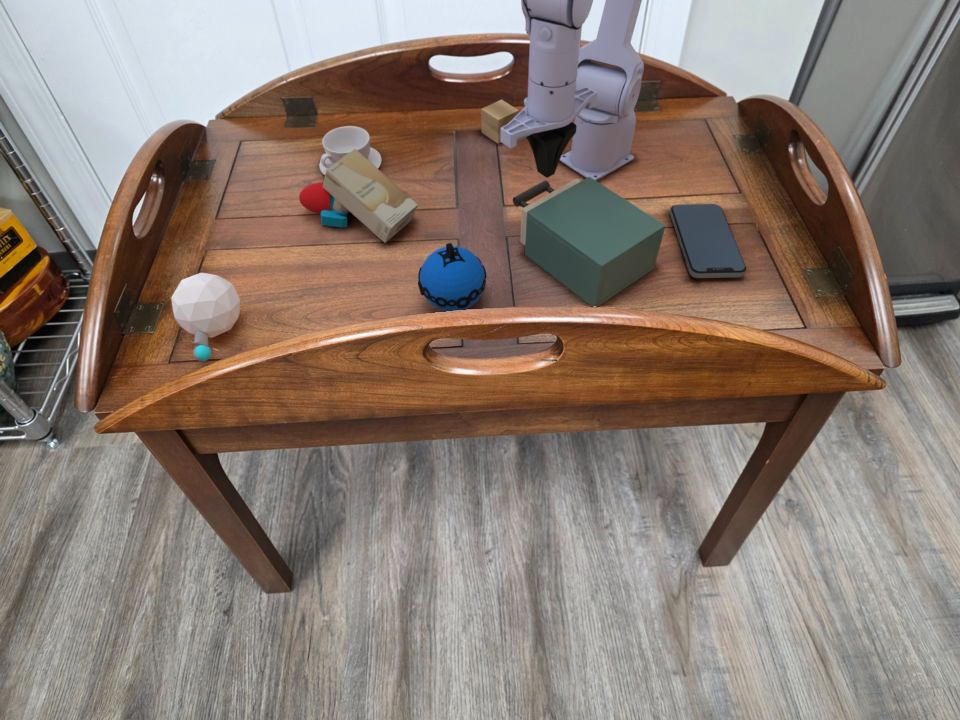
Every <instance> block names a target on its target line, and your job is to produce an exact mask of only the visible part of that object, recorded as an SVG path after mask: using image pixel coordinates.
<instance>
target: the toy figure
mask: <svg viewBox="0 0 960 720" xmlns="http://www.w3.org/2000/svg"><path fill="white" fill-rule="evenodd" d="M323 184H324V181H319V182H315V183H311V184H309V185H307V186H305V187H304V188H302V190H301V191H300V192H299V195H298V199H299V202H300V204H301V205H302V206H303V208H305V209H306V210H307V211H309V212H311V213H314V214H317V215H320V223H321V225H322V226H327V227H328V226H329V227H334V228H335V227H336V228H347V227H348V214H349V213H351V212H350V211H349V210H348V209H347V208H345V207H344V206H343V205H342V204H341V203H340V202H339V201H338V200H337V199H335V198H334V197H333V196H332V195H331V194H330V193H329V192H328V191H327V190H325V189H324V188H323Z"/></svg>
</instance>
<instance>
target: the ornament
mask: <svg viewBox="0 0 960 720" xmlns="http://www.w3.org/2000/svg"><path fill="white" fill-rule="evenodd" d="M417 274H418V276H417V277H418V278H417V279H418V281H417V286H418V290H419V293H420V295H421V296H424V298H425V299H426V301H427V302H428V303H429V304H430V305H431V306H433V307H434V308H436V309H437V310H439V311H443V312H446V311H453V310H463V309H465V310H467V309H470V308H471V307H472V306H475V304H476V303H477V302H478V300H479V299H481V297H482V294H483V293H484V291H485V289H486V284H487V280H486V279H487V271H486V268H485V266H484V264H482V261H481V259H480V257H479V256H477V255H476V254H474V252H472V251H470V250H468V249H467V248H464V247H462V246H457V245H453V243H452V242H449V243H448V242H447V243H445V246H443V247H440V248H438V249H436V250H434V251H433V252H432V253H430V254H428V256H427V257H426V258H425V260H424V262H423V264H422V265H421V266H420V267H419V269H418V273H417ZM463 311H464V310H463Z"/></svg>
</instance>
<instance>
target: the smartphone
mask: <svg viewBox="0 0 960 720" xmlns="http://www.w3.org/2000/svg"><path fill="white" fill-rule="evenodd" d="M669 216H670V218H671V221H672V225H673V228H674V231H675V234H676V236H677V240H678V243H679V246H680V249H681V252H682V255H683V259H684V261H685V264H686V267H687V270H688V273H689V275H690V276H691V277H692V278H695V279H716V278H719V279H721V278H722V279H723V278H725V279H726V278H741V277H744V276H745V274H746V271H747V266H746V264H745V261H744V259H743V256H742V254H741V252H740V249H739V246H738V245H737V242H736V240H735V237H734V235H733V233H732V230H731V228H730V225H729V222H728V220H727V217H726V216H725V213H724V210H723V209H722V207H721V206H720V205H719V204H716V203H695V204H693V203H692V204H689V203H688V204H674V205H671V207H670V210H669Z"/></svg>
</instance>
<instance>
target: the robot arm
mask: <svg viewBox="0 0 960 720" xmlns="http://www.w3.org/2000/svg"><path fill="white" fill-rule="evenodd" d="M642 1H643V0H605V2H604V5H603V10H602V14H601V18H600V22H599V26H598V30H597V35H596V38H595V39H593V40H591V41H589V42H588V43H585V44H584V45H582V46H581V39H582V31H583V25H584V24H585V22H586V20H587V19H588V17H589V15H590V12H591V9H592V6H593V4H594V0H520V5H521V12H522V14H523V16H524V19H525V27H524V28H525V30H524V31H525V33H526V34H527V35H528V36H529V48H528V49H529V53H528V55H529V56H528V77H527V79H528V80H527V97H525V98H524V99H523V105H524V107H523V108H522V109H521V110H519V113H518V114H517V115H516V116H515V117H514V118H513V119H512V120H511V121H510V122H509V123H508V124H507V125H505V126H503V127H501V136H500V142H501V143H502V144H503V146H506V147H508V148H509V149H513V148H515V147H517V143H518V142H519V141H521V140H523V139H525V138H526V140H527V142H528V144H529V146H530V148H531V152H532V154H533V158H534V162H535V166H536V171H537V173H539V174H541V175H542V176H543V177H545V178H546V179H547V178H550V177H552V176H554V175H555V174H556V171H557V169H558V166H559V163H560V162H561V163H563V164H564V165H565V166H567V167H568V168H570V169H571V170H573V171H575V172H576V173H578V174H579V175H581V176H582V177H584V178H585V179H586V178H588V177H591V178H592V179H594V180H596V181H599V180H601V179H602V178H604V177H605V176H607V175H609V174H611V173H612V172H614V171H616V170H617V169H620V168H621V167H624V166H625V165H627V164H628V163H630V162H632V161H634V159H635V156H634V155H633V154H631V151H632V146H633V141H634V134H635V130H636V125H637V117H636V116H637V115H636V112H635V110H634V109H635V108H636V105H637V103H638V99H639V96H640V94H641V93H640V92H641V90H642V89H641V88H642V79H643V73H644V70H645V67H644V66H645V63H644V61H643V59H642V58H641V56H640V55H639V53H638V52H637V51H636V49H635V48H634V46H633V45H632V43H631V42H632V40H633V36H634V30H635V28H636V23H637V19H638V16H639V12H640V10H641V5H642ZM594 61H596V62H594ZM597 62H600V63H597ZM602 63H604V64H602ZM605 64H607V65H605ZM609 65H612V66H609ZM613 66H614V67H613ZM618 67H619V68H618ZM571 140H572V141H571ZM570 141H571V148H570V149H571V150H569V151H567V152H566V153H564V152H565V150H566V148H567V146H568V145H569V142H570ZM563 153H564V154H563Z"/></svg>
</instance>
